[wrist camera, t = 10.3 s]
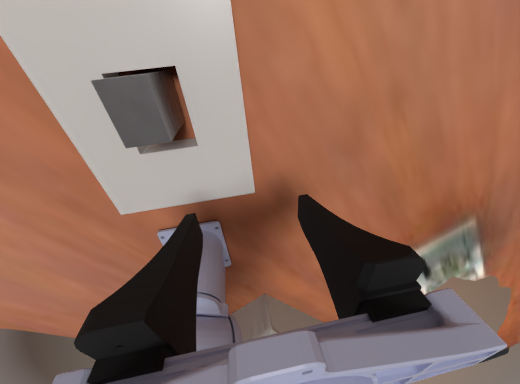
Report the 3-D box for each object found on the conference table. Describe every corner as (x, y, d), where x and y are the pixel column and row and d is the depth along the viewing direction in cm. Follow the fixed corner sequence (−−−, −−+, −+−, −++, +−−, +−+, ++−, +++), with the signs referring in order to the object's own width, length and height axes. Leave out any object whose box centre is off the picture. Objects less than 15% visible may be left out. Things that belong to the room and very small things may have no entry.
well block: (252, 180, 23) (255, 192, 21) (130, 200, 22) (121, 214, 20) (221, -52, 13) (220, -74, 11) (-12, -37, 12) (-62, -58, 10)
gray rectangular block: (185, 120, 18) (170, 142, 13) (152, 124, 18) (125, 148, 13) (169, 70, 16) (145, 74, 11) (132, 74, 16) (90, 80, 11)
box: (335, 324, 54) (264, 289, 38) (350, 359, 48) (272, 336, 32) (272, 353, 61) (187, 335, 44) (277, 387, 55) (181, 381, 38)
